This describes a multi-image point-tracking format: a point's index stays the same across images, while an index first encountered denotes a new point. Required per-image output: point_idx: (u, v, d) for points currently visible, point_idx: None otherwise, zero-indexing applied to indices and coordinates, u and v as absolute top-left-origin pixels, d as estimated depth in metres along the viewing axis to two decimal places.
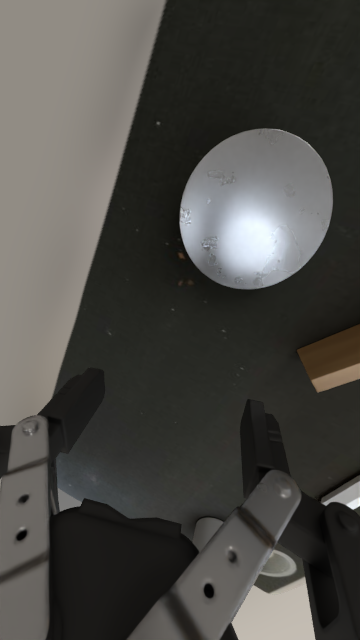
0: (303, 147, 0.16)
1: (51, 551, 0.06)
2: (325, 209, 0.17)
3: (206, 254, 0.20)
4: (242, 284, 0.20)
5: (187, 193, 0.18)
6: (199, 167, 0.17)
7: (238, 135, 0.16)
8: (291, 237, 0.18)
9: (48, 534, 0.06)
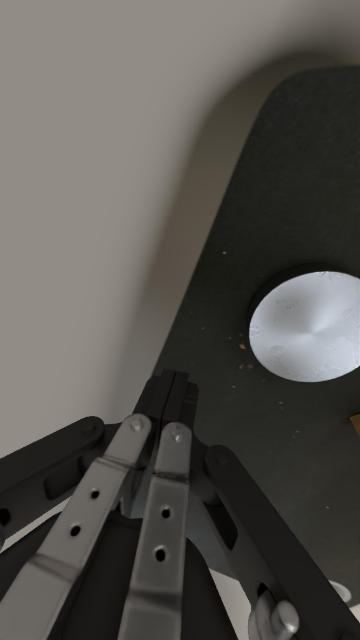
0: (359, 284, 0.19)
1: (85, 571, 0.06)
2: None
3: (272, 357, 0.23)
4: (304, 378, 0.24)
5: (257, 315, 0.22)
6: (268, 297, 0.21)
7: (302, 276, 0.20)
8: (349, 345, 0.21)
9: (90, 551, 0.06)
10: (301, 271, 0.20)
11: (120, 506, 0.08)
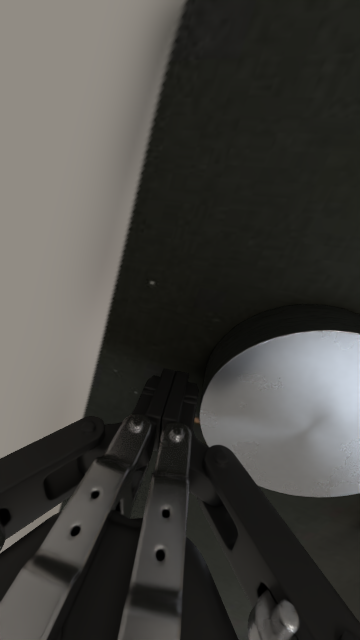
0: None
1: (85, 571, 0.06)
2: None
3: (242, 458, 0.14)
4: (296, 491, 0.14)
5: (209, 395, 0.12)
6: (226, 369, 0.11)
7: (287, 337, 0.10)
8: None
9: (90, 551, 0.06)
10: (285, 324, 0.11)
11: (120, 506, 0.08)
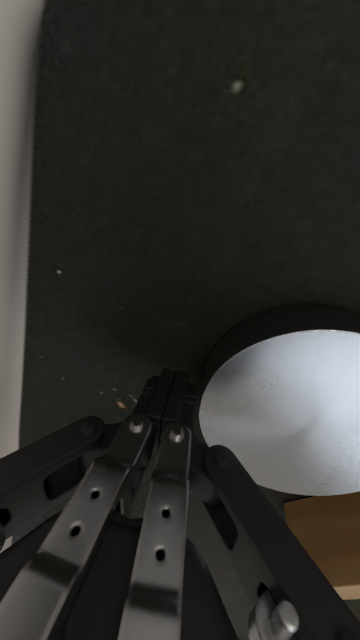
0: None
1: (85, 571, 0.06)
2: None
3: (241, 456, 0.14)
4: (295, 490, 0.14)
5: (208, 394, 0.12)
6: (225, 368, 0.12)
7: (285, 336, 0.10)
8: None
9: (90, 551, 0.06)
10: (284, 323, 0.11)
11: (120, 506, 0.08)
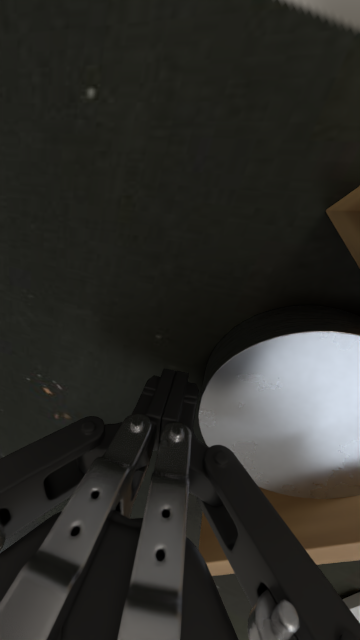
0: None
1: (85, 571, 0.06)
2: None
3: (240, 458, 0.14)
4: (294, 492, 0.14)
5: (208, 394, 0.12)
6: (225, 369, 0.12)
7: (286, 337, 0.10)
8: None
9: (90, 551, 0.06)
10: (285, 324, 0.11)
11: (120, 506, 0.08)
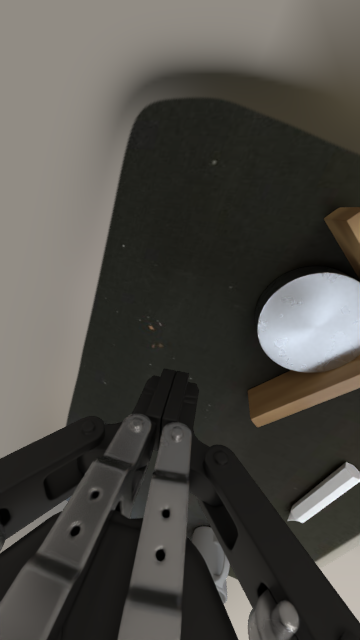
0: (355, 284, 0.22)
1: (85, 571, 0.06)
2: None
3: (278, 349, 0.26)
4: (306, 369, 0.26)
5: (264, 311, 0.24)
6: (275, 295, 0.23)
7: (306, 276, 0.22)
8: (347, 339, 0.24)
9: (90, 551, 0.06)
10: (304, 272, 0.23)
11: (120, 506, 0.08)
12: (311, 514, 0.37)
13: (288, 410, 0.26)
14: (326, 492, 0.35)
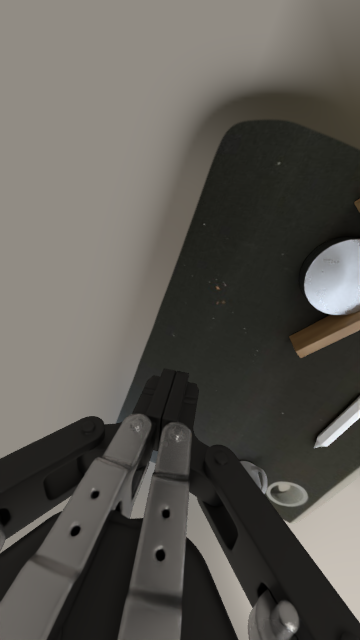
0: None
1: (85, 571, 0.06)
2: None
3: (318, 298, 0.36)
4: (338, 312, 0.36)
5: (311, 268, 0.34)
6: (319, 256, 0.34)
7: (342, 242, 0.32)
8: None
9: (90, 551, 0.06)
10: (340, 240, 0.33)
11: (120, 506, 0.08)
12: (334, 438, 0.47)
13: (324, 342, 0.37)
14: (346, 417, 0.45)
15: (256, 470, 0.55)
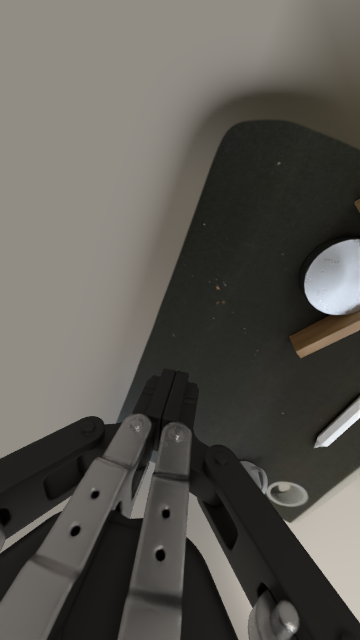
0: None
1: (85, 571, 0.06)
2: None
3: (318, 298, 0.36)
4: (338, 312, 0.36)
5: (311, 268, 0.34)
6: (319, 256, 0.34)
7: (342, 242, 0.32)
8: None
9: (90, 551, 0.06)
10: (340, 240, 0.33)
11: (120, 506, 0.08)
12: (334, 438, 0.47)
13: (324, 342, 0.37)
14: (346, 417, 0.45)
15: (256, 470, 0.55)
